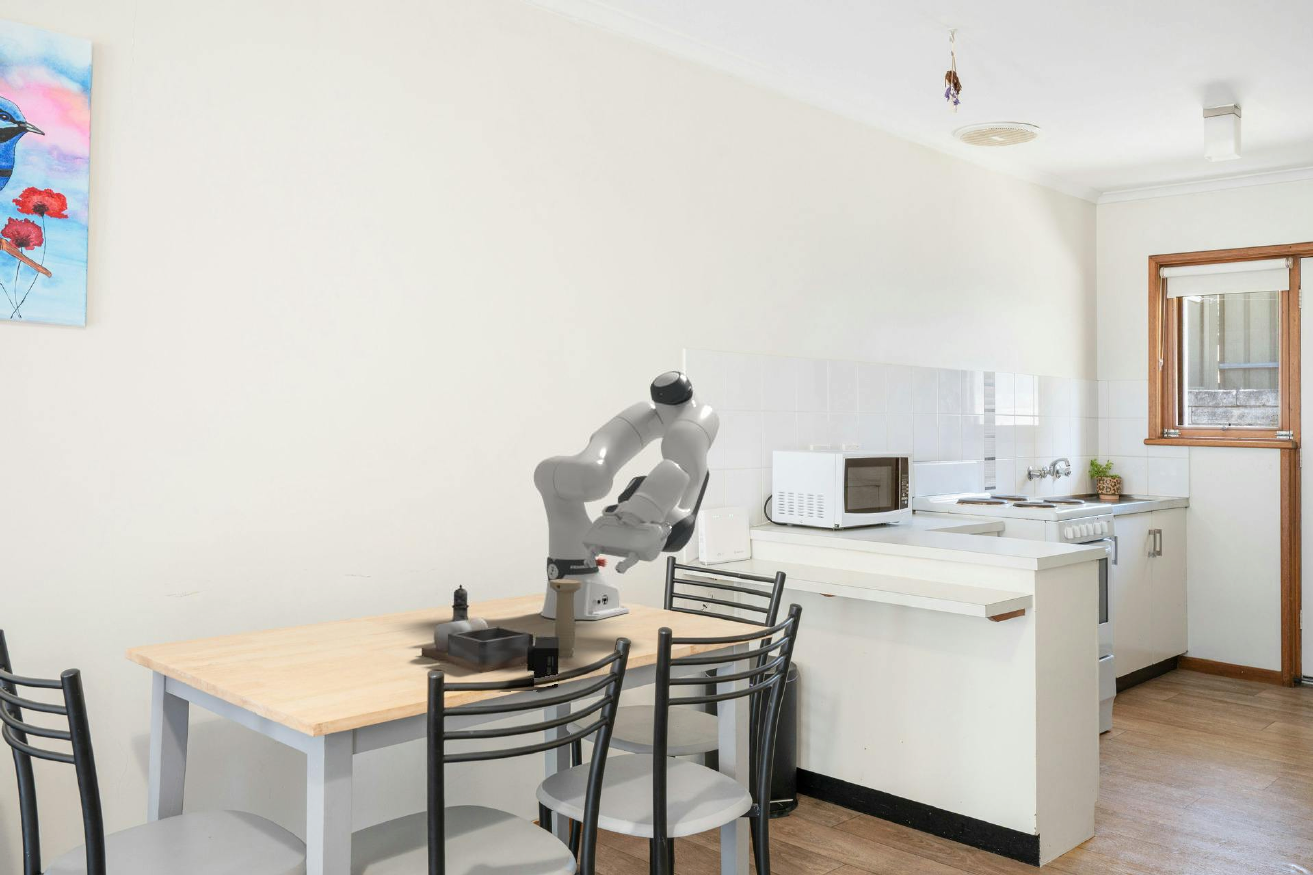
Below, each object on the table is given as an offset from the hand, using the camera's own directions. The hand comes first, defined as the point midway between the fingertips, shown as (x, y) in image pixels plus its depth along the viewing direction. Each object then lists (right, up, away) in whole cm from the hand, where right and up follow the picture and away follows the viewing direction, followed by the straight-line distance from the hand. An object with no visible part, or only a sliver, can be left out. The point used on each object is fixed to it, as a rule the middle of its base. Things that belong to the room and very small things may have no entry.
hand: (602, 568), depth 209 cm
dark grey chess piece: (-31, -17, +8) cm, 36 cm away
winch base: (-24, -16, -10) cm, 31 cm away
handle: (-7, -17, -7) cm, 20 cm away
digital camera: (-9, -17, -26) cm, 33 cm away
